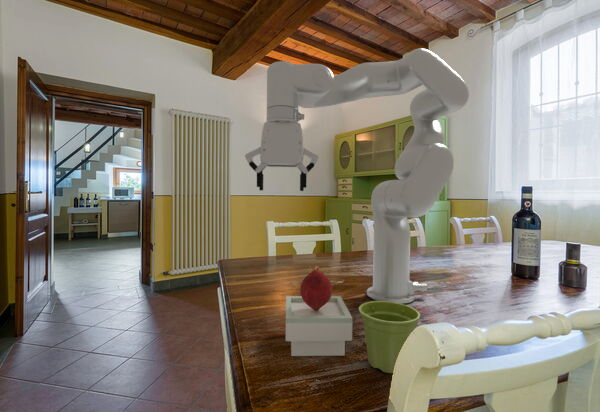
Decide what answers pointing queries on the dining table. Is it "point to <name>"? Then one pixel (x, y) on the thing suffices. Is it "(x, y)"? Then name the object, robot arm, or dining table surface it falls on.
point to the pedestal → (317, 327)
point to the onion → (316, 289)
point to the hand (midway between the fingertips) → (281, 190)
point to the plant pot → (386, 331)
